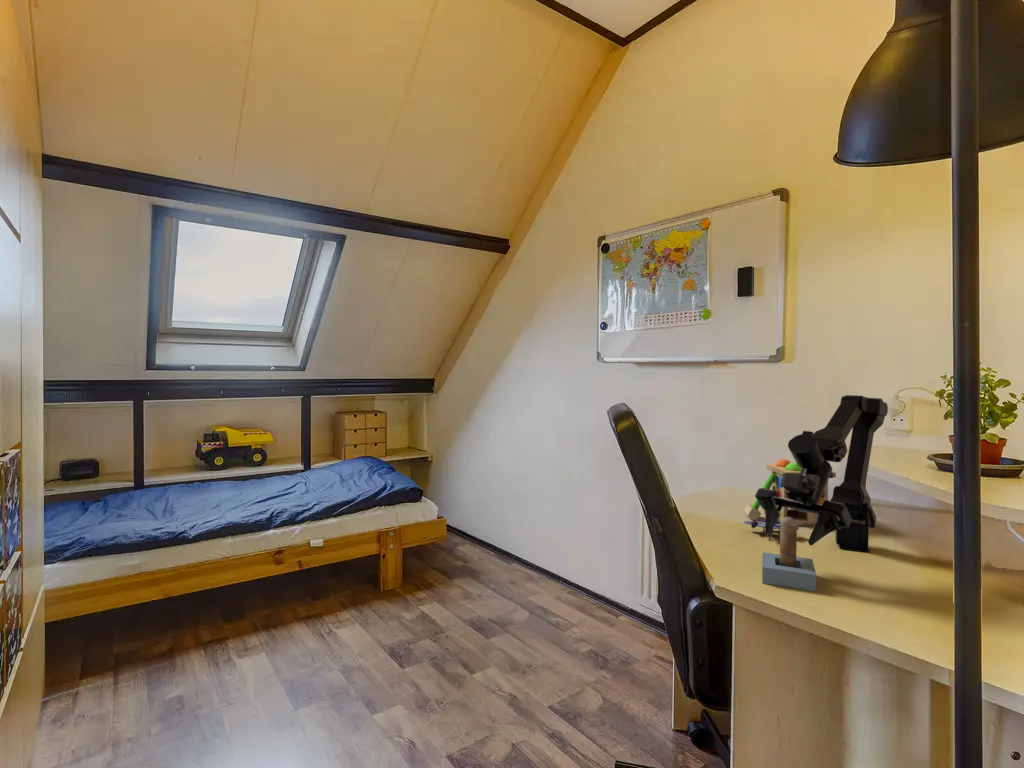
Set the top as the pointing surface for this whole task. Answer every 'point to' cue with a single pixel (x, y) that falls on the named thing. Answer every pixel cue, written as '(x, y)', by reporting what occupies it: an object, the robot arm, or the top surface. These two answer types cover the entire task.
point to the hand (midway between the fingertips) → (787, 538)
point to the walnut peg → (788, 542)
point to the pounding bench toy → (775, 483)
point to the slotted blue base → (788, 573)
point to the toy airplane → (754, 524)
